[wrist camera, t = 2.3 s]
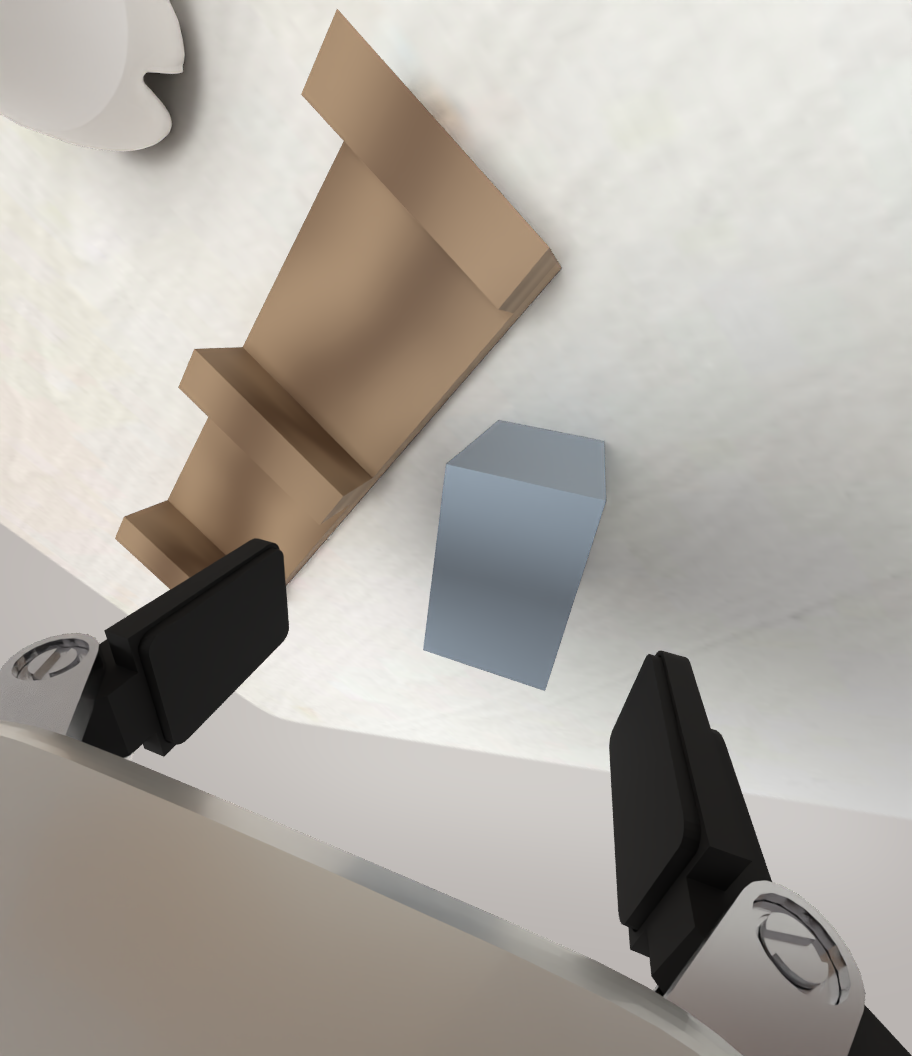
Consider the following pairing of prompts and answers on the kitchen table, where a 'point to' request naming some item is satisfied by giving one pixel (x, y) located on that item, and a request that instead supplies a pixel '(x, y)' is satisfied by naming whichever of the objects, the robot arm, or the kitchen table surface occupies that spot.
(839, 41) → the kitchen table surface
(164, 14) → the water bottle
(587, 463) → the blue-grey rectangular block
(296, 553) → the wooden divided rack
